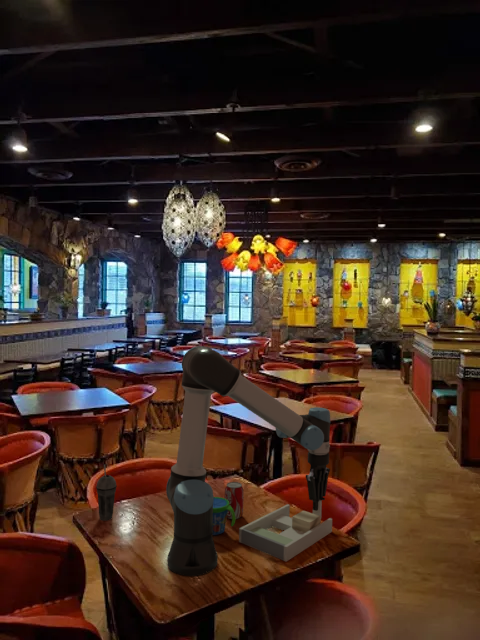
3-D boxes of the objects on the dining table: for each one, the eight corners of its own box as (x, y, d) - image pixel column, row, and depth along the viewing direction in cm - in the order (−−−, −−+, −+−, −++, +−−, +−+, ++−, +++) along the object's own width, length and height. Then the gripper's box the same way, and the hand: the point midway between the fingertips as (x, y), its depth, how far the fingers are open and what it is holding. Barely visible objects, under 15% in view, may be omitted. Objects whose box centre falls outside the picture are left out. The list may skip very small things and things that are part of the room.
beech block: (309, 534, 164) (309, 522, 164) (292, 528, 169) (292, 516, 169) (320, 527, 170) (320, 516, 170) (303, 521, 174) (303, 510, 174)
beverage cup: (120, 516, 181) (121, 462, 181) (106, 524, 175) (107, 468, 174) (105, 512, 184) (106, 459, 184) (91, 519, 178) (92, 464, 178)
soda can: (242, 520, 180) (243, 488, 180) (223, 520, 180) (224, 487, 180) (243, 512, 187) (243, 481, 187) (224, 512, 187) (225, 481, 187)
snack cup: (186, 531, 170) (186, 502, 170) (204, 520, 179) (204, 492, 179) (224, 543, 162) (224, 512, 162) (240, 531, 171) (241, 502, 171)
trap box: (286, 561, 151) (286, 547, 151) (238, 541, 163) (239, 528, 163) (331, 531, 173) (332, 518, 172) (287, 516, 185) (287, 504, 185)
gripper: (318, 458, 167) (316, 527, 167) (337, 450, 177) (335, 515, 177) (299, 453, 172) (297, 520, 172) (318, 446, 182) (317, 509, 182)
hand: (316, 518), depth 175 cm, fingers closed
